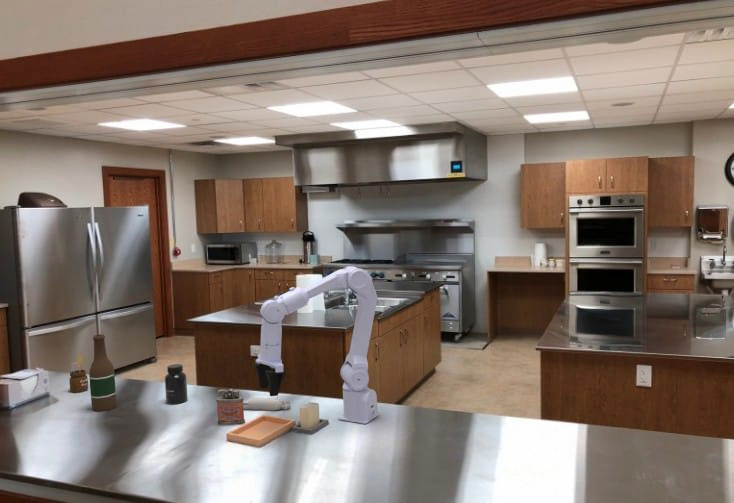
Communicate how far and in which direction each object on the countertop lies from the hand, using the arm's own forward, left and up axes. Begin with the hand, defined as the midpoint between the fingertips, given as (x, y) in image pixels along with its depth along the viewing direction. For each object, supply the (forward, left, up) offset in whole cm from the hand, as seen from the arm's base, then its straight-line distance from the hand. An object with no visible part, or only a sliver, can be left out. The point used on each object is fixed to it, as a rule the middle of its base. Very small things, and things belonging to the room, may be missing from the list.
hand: (268, 391), depth 165 cm
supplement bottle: (+46, -8, -11) cm, 48 cm away
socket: (-9, -6, -11) cm, 16 cm away
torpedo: (+14, -13, -12) cm, 22 cm away
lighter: (+15, 0, -11) cm, 19 cm away
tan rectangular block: (-9, -6, -11) cm, 16 cm away
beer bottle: (+64, +6, -11) cm, 65 cm away
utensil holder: (+90, -3, -11) cm, 91 cm away
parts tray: (+1, +3, -11) cm, 12 cm away
